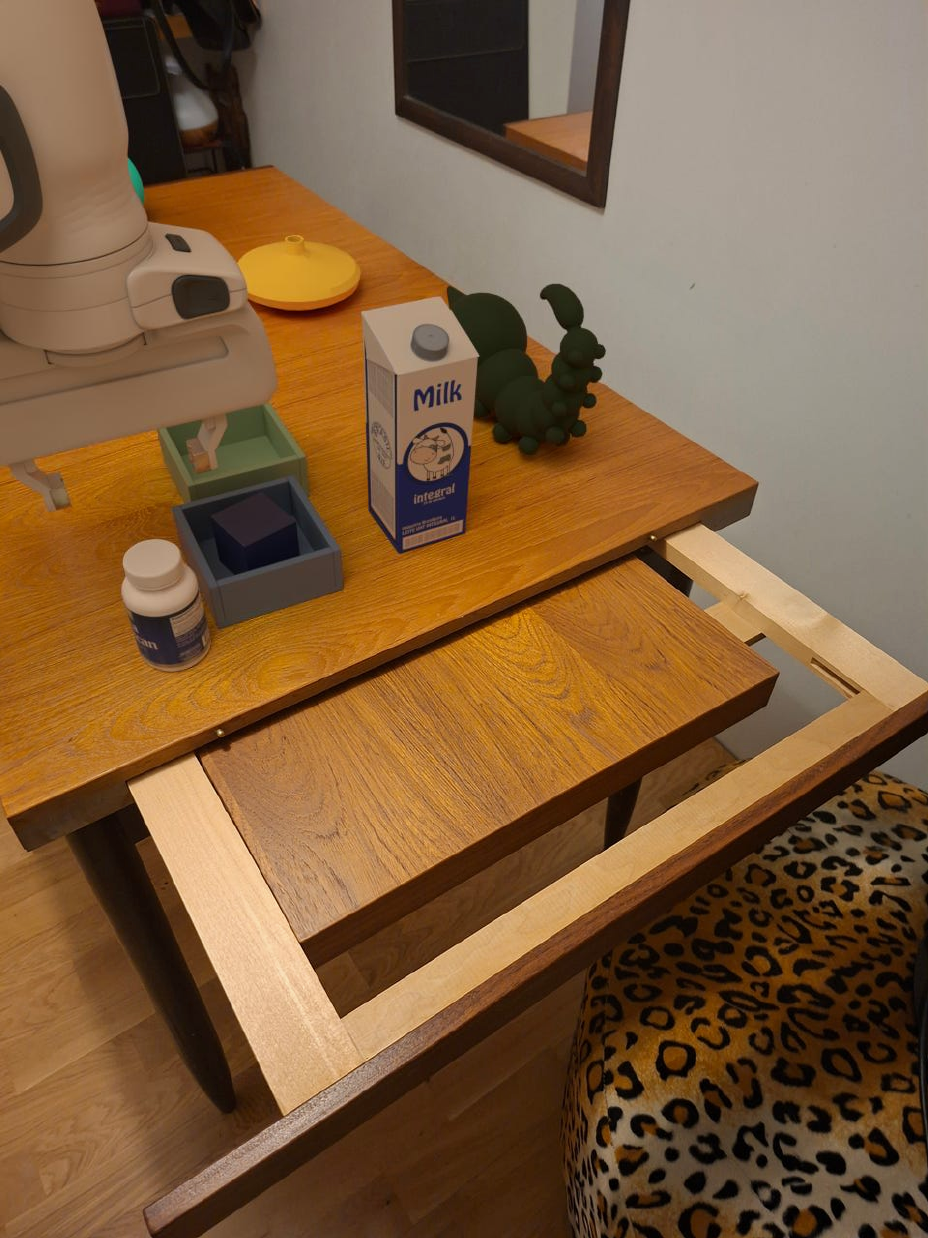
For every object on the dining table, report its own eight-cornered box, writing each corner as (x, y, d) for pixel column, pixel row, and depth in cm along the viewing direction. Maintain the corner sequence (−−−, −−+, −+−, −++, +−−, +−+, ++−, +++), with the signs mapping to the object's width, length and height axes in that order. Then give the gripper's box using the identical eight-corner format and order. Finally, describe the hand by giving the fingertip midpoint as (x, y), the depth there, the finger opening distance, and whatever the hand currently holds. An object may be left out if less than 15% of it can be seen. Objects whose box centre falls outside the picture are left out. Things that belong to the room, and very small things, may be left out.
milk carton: (433, 491, 84) (441, 292, 69) (467, 532, 80) (481, 331, 65) (366, 510, 81) (359, 308, 67) (397, 554, 77) (396, 350, 63)
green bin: (196, 527, 78) (187, 486, 75) (164, 461, 85) (154, 420, 81) (309, 496, 82) (306, 456, 79) (270, 435, 89) (265, 395, 85)
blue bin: (218, 629, 70) (209, 588, 67) (180, 547, 76) (170, 506, 73) (343, 589, 74) (341, 549, 71) (297, 514, 80) (293, 474, 77)
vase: (371, 273, 115) (370, 219, 110) (348, 331, 104) (346, 273, 99) (254, 261, 116) (247, 207, 110) (219, 318, 105) (210, 260, 100)
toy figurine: (596, 475, 90) (476, 344, 103) (644, 311, 75) (497, 181, 88) (520, 500, 86) (405, 361, 99) (554, 333, 72) (415, 194, 84)
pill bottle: (126, 652, 68) (94, 560, 61) (178, 613, 71) (154, 521, 64) (174, 685, 66) (147, 594, 59) (226, 643, 69) (206, 552, 62)
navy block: (251, 591, 72) (244, 547, 69) (219, 560, 75) (210, 515, 71) (301, 565, 75) (296, 520, 71) (267, 536, 77) (261, 491, 74)
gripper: (-138, 349, 41) (-31, 561, 51) (273, 273, 49) (296, 472, 59) (-146, 291, 45) (-45, 499, 55) (237, 229, 52) (264, 423, 62)
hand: (133, 485), depth 57 cm, fingers open, 8 cm apart
